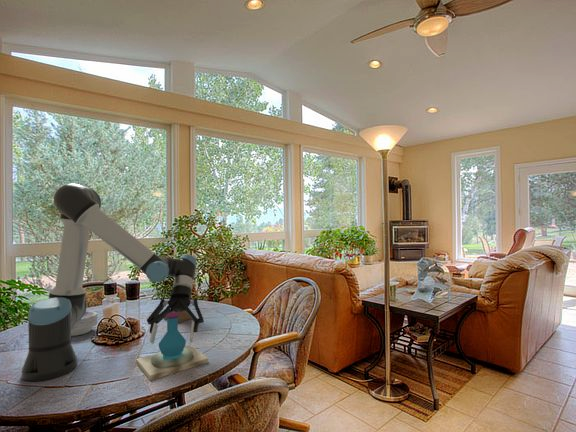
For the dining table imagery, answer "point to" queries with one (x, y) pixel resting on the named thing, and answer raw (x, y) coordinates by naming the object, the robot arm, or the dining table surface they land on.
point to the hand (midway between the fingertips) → (171, 341)
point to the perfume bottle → (172, 339)
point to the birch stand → (170, 363)
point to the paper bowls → (84, 324)
